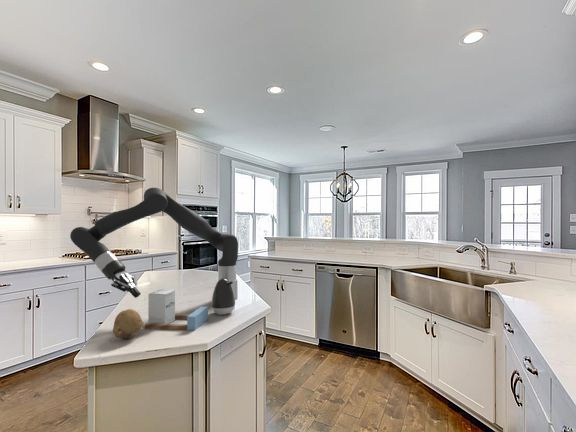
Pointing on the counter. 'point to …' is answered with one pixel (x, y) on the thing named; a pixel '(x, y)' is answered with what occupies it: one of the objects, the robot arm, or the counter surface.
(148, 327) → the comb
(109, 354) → the counter surface
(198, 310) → the blue rectangular block
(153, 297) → the supplement box
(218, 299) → the pump dispenser
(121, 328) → the brown potato
